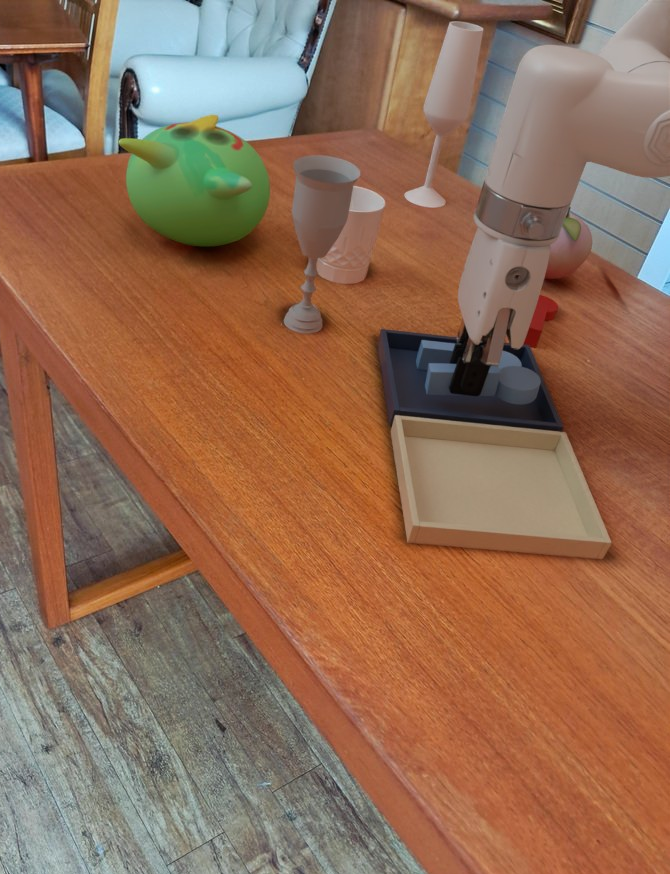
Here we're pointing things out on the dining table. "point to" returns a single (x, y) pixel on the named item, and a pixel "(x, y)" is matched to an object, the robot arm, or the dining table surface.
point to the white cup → (354, 240)
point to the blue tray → (412, 400)
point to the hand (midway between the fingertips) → (462, 385)
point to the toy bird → (197, 183)
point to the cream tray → (494, 489)
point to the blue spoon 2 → (489, 382)
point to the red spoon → (540, 319)
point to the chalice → (318, 223)
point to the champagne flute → (449, 98)
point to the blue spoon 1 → (443, 353)
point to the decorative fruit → (569, 248)
